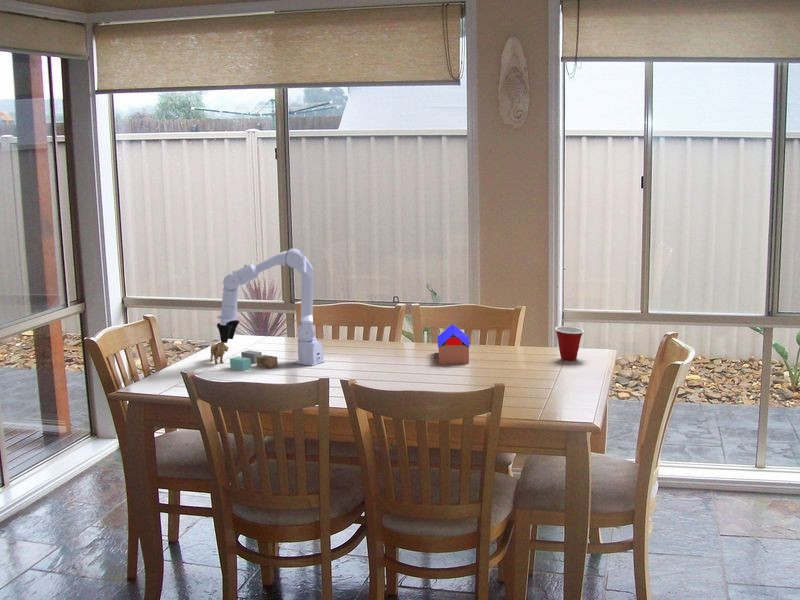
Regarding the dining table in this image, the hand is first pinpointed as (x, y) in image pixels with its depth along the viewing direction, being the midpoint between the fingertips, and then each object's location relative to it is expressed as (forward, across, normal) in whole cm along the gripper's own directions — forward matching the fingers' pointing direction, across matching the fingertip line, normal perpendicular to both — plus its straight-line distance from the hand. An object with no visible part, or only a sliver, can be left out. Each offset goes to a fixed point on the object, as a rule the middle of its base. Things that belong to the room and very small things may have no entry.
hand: (227, 340), depth 339 cm
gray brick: (+9, -8, +8) cm, 15 cm away
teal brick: (+10, +2, +7) cm, 12 cm away
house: (0, -15, +86) cm, 87 cm away
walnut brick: (+8, 0, +16) cm, 18 cm away
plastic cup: (-5, -12, +130) cm, 130 cm away
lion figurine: (+11, -8, -5) cm, 14 cm away
